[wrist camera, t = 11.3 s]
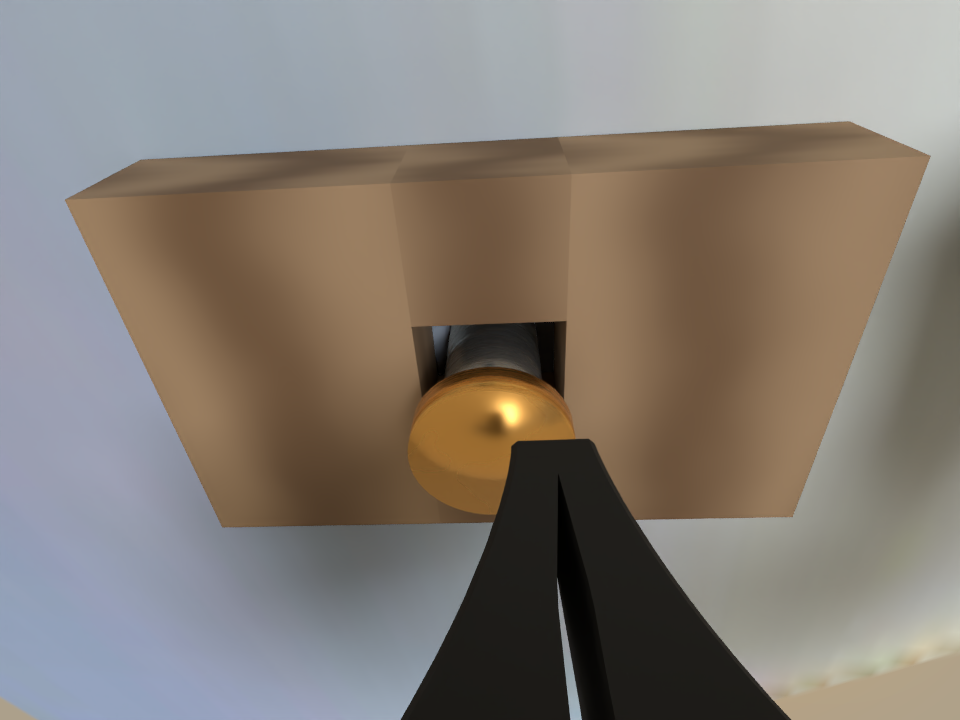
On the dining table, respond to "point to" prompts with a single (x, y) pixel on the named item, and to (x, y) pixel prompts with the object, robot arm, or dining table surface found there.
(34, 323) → the dining table surface
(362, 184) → the hitch block
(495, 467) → the pin
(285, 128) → the dining table surface
